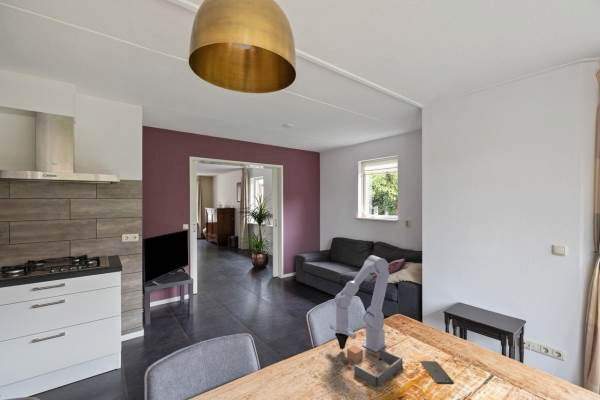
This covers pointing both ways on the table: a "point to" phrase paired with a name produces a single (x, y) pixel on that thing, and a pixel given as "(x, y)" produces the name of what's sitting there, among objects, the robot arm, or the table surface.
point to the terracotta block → (354, 353)
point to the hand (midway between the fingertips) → (342, 348)
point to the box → (384, 374)
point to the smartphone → (437, 372)
